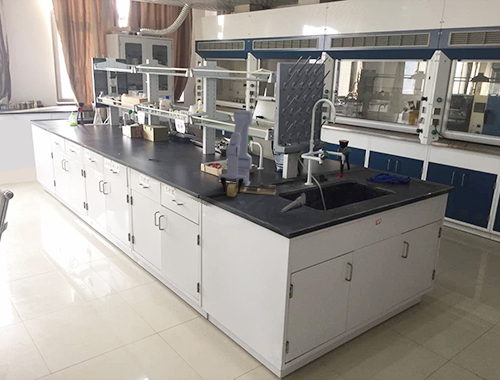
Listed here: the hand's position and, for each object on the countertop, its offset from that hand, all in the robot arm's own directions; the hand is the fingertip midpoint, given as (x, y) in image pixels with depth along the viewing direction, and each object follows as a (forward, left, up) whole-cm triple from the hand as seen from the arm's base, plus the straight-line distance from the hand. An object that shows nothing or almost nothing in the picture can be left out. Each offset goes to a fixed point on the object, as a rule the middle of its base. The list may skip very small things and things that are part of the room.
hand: (231, 191), depth 224 cm
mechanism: (-9, +10, -2) cm, 14 cm away
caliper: (+15, +34, -2) cm, 37 cm away
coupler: (0, 0, -2) cm, 2 cm away
